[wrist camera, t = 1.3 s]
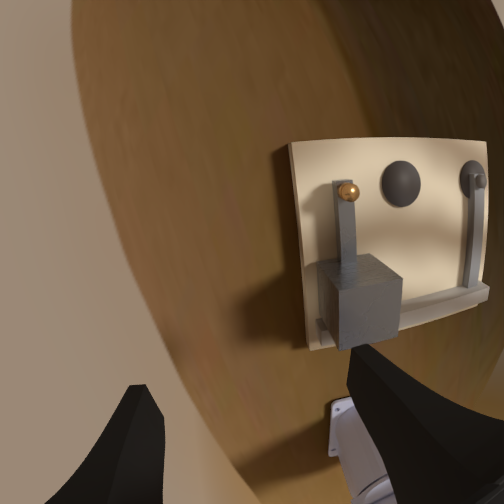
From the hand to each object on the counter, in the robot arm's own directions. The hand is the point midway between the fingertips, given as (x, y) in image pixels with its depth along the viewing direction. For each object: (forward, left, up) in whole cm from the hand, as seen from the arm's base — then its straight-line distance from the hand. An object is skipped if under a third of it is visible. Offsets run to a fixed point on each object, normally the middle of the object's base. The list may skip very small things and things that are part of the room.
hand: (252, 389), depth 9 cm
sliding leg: (+1, -6, -9) cm, 11 cm away
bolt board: (+1, -12, -11) cm, 16 cm away
